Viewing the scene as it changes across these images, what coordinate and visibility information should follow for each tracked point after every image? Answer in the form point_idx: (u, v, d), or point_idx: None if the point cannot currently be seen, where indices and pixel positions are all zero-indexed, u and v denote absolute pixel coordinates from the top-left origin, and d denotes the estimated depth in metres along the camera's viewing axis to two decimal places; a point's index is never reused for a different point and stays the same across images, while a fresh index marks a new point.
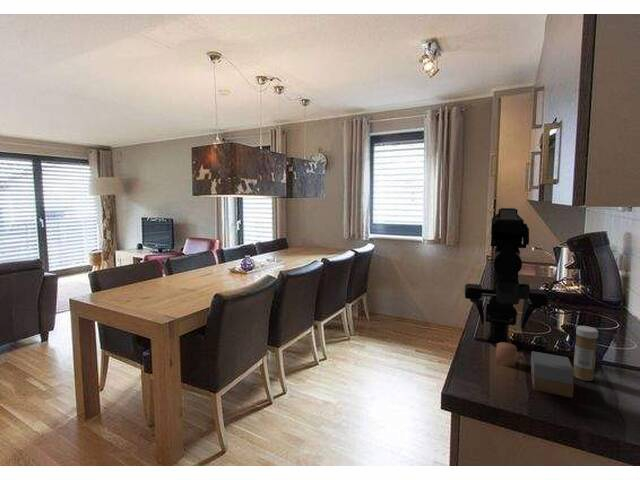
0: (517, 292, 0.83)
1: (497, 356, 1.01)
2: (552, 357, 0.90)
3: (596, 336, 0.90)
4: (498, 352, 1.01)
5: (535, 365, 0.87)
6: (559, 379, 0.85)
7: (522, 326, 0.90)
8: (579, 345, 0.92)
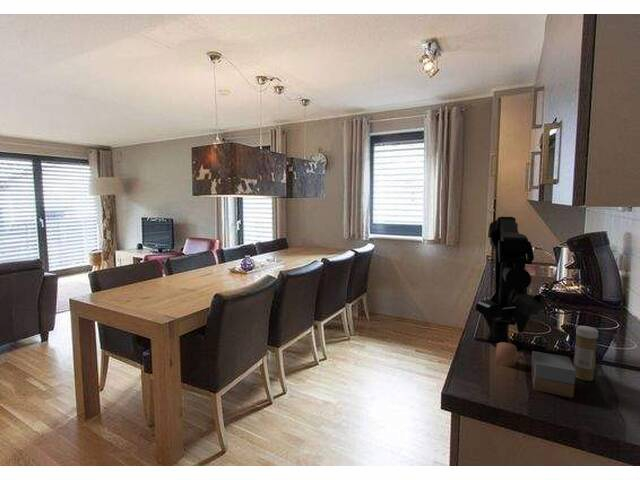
0: (539, 303, 0.92)
1: (497, 356, 1.01)
2: (553, 357, 0.90)
3: (596, 336, 0.90)
4: (498, 352, 1.01)
5: (537, 365, 0.86)
6: (561, 379, 0.84)
7: (521, 331, 1.01)
8: (579, 345, 0.92)
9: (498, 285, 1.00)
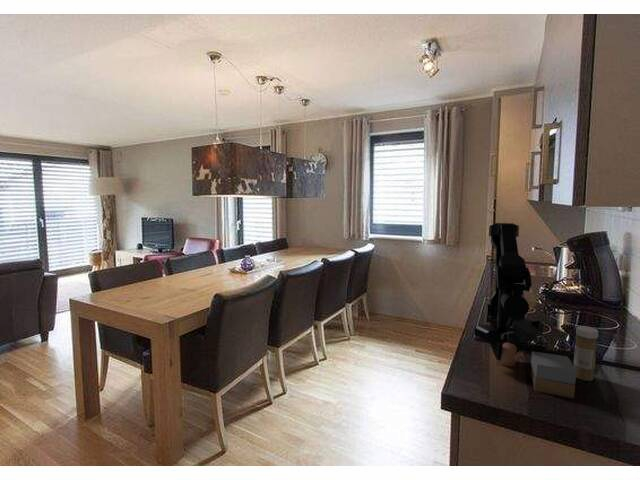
0: (537, 329, 0.93)
1: None
2: (553, 356, 0.90)
3: (596, 336, 0.90)
4: None
5: (538, 365, 0.86)
6: (561, 379, 0.84)
7: None
8: (579, 345, 0.92)
9: (496, 310, 1.01)
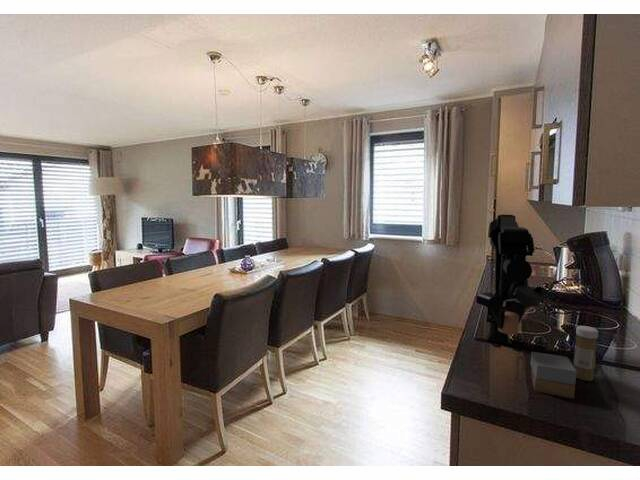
0: (540, 295, 0.92)
1: None
2: (552, 357, 0.90)
3: (596, 336, 0.90)
4: None
5: (538, 366, 0.86)
6: (562, 380, 0.84)
7: None
8: (578, 345, 0.92)
9: (499, 277, 0.99)
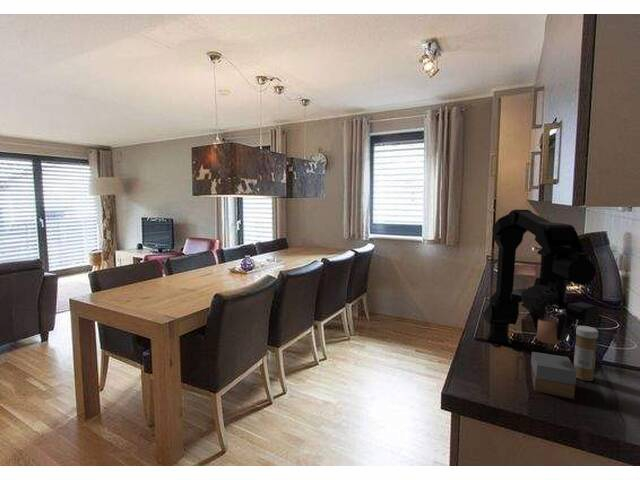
0: (536, 296, 0.83)
1: None
2: (553, 357, 0.90)
3: (596, 336, 0.90)
4: None
5: (538, 366, 0.86)
6: (562, 380, 0.84)
7: (558, 337, 0.86)
8: (578, 345, 0.92)
9: None
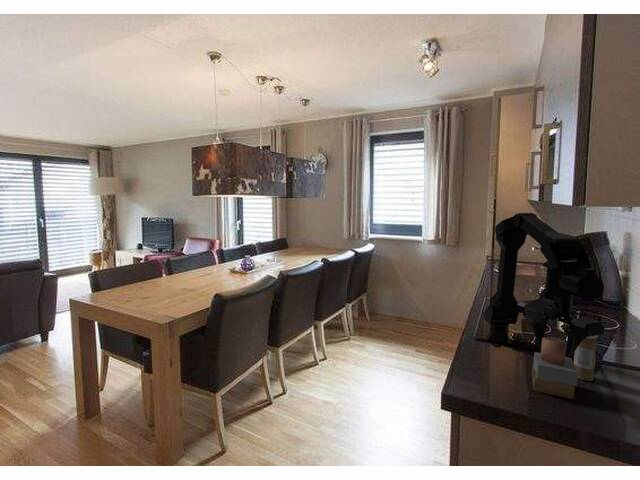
0: (539, 310, 0.82)
1: None
2: None
3: (596, 336, 0.90)
4: None
5: (539, 366, 0.86)
6: (563, 380, 0.84)
7: (567, 353, 0.84)
8: (579, 345, 0.92)
9: None
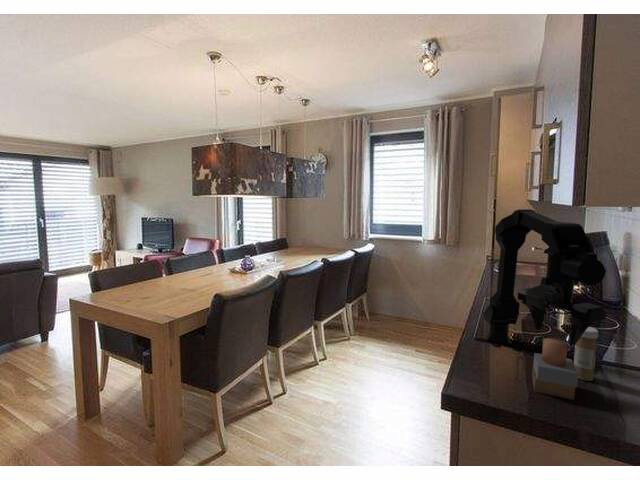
0: (540, 296, 0.82)
1: None
2: None
3: (596, 336, 0.90)
4: None
5: (539, 367, 0.85)
6: (563, 381, 0.83)
7: (571, 341, 0.83)
8: (579, 345, 0.92)
9: None
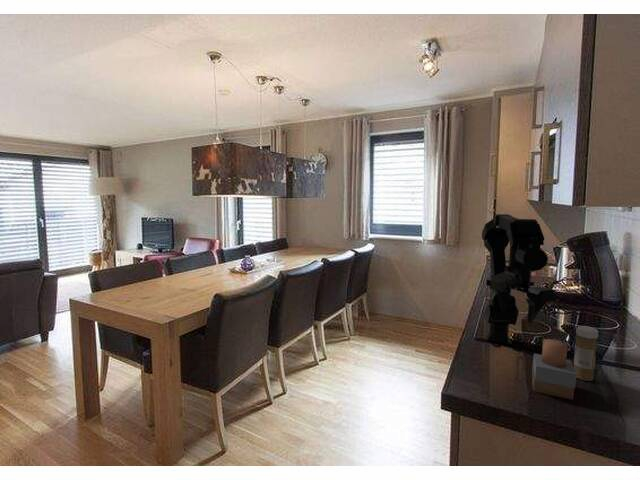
0: (501, 281, 0.96)
1: None
2: None
3: (596, 336, 0.90)
4: None
5: (537, 367, 0.85)
6: (561, 382, 0.83)
7: (528, 319, 0.97)
8: (578, 345, 0.92)
9: None
